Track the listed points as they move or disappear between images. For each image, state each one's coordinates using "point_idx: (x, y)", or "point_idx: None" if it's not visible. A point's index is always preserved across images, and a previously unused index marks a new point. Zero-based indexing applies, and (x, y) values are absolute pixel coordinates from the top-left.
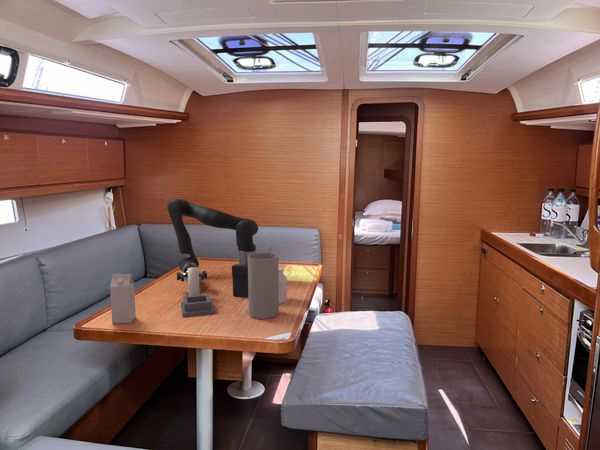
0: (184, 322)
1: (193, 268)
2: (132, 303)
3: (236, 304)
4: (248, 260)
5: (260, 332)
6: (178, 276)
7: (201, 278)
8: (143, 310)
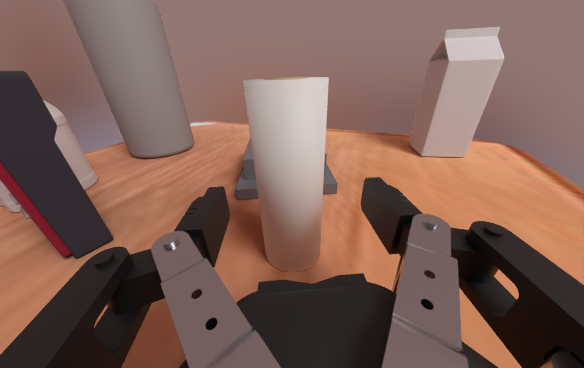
0: None
1: (283, 78)
2: (423, 112)
3: (173, 181)
4: (158, 13)
5: (212, 127)
6: (466, 231)
7: (224, 199)
8: (436, 177)
